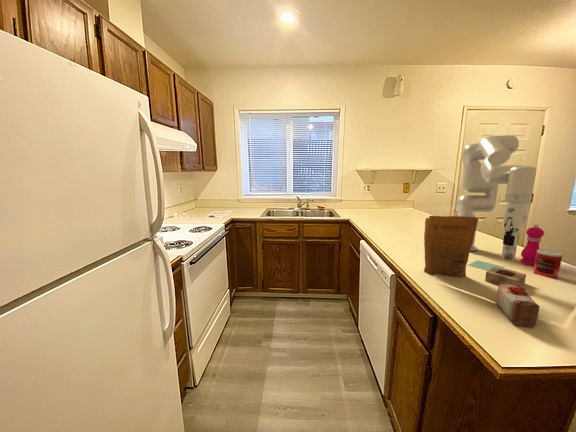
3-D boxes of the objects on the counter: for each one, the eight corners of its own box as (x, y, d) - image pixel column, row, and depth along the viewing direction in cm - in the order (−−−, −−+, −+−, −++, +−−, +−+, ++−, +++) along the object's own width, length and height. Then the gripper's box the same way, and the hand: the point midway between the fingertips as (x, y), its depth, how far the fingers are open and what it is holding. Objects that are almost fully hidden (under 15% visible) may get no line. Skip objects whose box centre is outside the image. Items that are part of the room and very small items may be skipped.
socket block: (484, 283, 104) (486, 271, 103) (494, 276, 109) (495, 266, 108) (515, 292, 96) (517, 280, 95) (524, 285, 101) (526, 274, 100)
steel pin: (512, 260, 98) (517, 231, 95) (499, 257, 101) (504, 229, 99) (516, 258, 100) (521, 230, 97) (503, 255, 103) (508, 227, 101)
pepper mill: (543, 267, 118) (551, 226, 114) (526, 266, 119) (533, 226, 115) (532, 261, 125) (539, 222, 121) (516, 260, 126) (522, 222, 122)
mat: (467, 267, 120) (467, 265, 120) (477, 261, 126) (477, 260, 126) (495, 275, 111) (495, 273, 111) (504, 269, 117) (504, 267, 117)
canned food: (550, 272, 112) (554, 249, 109) (562, 280, 104) (567, 256, 102) (528, 271, 114) (532, 248, 112) (539, 278, 107) (544, 254, 105)
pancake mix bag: (471, 283, 104) (480, 218, 98) (420, 274, 113) (425, 215, 108) (469, 277, 110) (477, 215, 104) (420, 269, 119) (425, 212, 113)
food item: (491, 302, 90) (495, 277, 88) (519, 306, 87) (524, 280, 85) (509, 325, 77) (514, 296, 75) (542, 330, 74) (548, 300, 72)
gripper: (523, 202, 88) (514, 250, 92) (538, 197, 97) (529, 242, 101) (497, 200, 94) (490, 245, 98) (513, 195, 103) (506, 237, 107)
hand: (510, 243), depth 99 cm, fingers closed on steel pin, 4 cm apart
